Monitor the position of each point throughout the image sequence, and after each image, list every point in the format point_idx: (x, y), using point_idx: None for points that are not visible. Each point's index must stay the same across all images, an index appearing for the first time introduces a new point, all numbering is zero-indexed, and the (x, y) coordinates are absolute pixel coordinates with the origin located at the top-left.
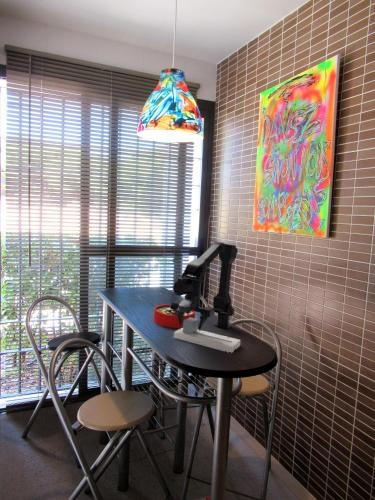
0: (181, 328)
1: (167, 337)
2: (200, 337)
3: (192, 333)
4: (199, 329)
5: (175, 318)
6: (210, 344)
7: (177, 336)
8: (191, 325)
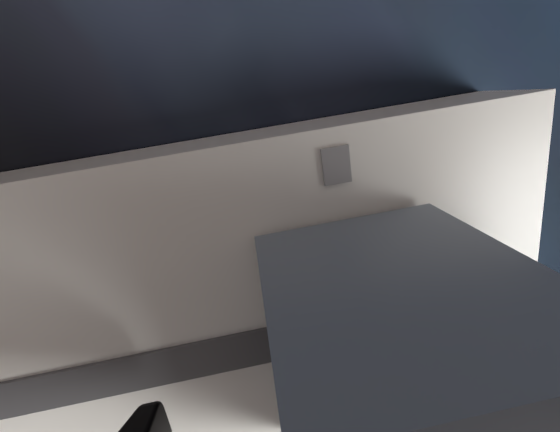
0: None
1: (557, 26)
2: (27, 248)
3: None
4: (145, 421)
5: None
6: None
7: (439, 99)
8: (285, 349)
